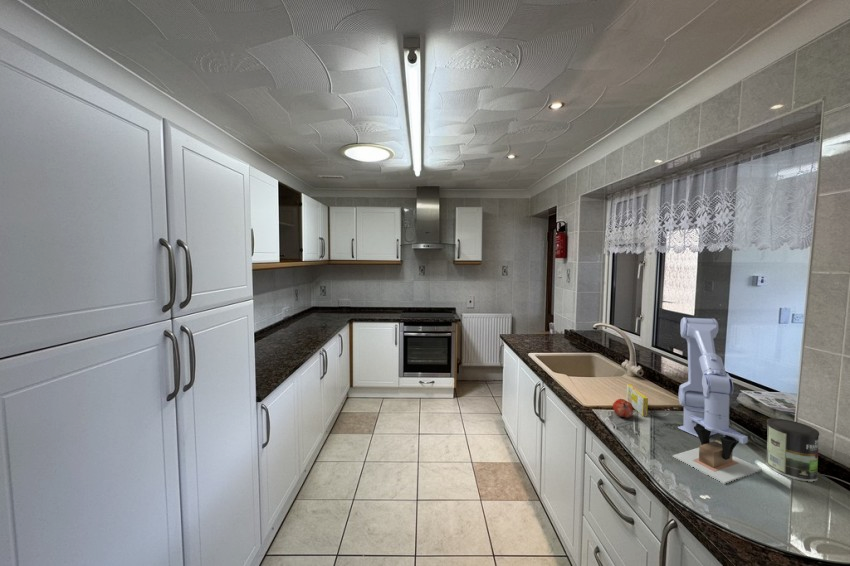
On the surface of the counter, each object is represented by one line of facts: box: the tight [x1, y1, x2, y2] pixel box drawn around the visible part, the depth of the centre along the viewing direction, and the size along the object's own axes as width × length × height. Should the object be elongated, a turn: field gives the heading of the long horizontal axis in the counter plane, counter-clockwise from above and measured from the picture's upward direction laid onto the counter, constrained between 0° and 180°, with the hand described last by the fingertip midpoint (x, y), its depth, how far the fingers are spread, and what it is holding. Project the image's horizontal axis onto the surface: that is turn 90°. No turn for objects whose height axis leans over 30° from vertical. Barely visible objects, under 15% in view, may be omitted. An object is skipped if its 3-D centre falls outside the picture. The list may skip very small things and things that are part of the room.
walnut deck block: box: [698, 439, 733, 468], centre depth 99 cm, size 4×9×5 cm, turn 108°
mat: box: [672, 447, 763, 485], centre depth 99 cm, size 18×14×1 cm
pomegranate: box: [612, 398, 634, 419], centre depth 132 cm, size 7×7×10 cm
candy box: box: [625, 383, 649, 418], centre depth 139 cm, size 16×2×8 cm, turn 168°
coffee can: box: [766, 417, 820, 483], centre depth 95 cm, size 10×10×14 cm
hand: (715, 453), depth 99 cm, fingers open, 5 cm apart
